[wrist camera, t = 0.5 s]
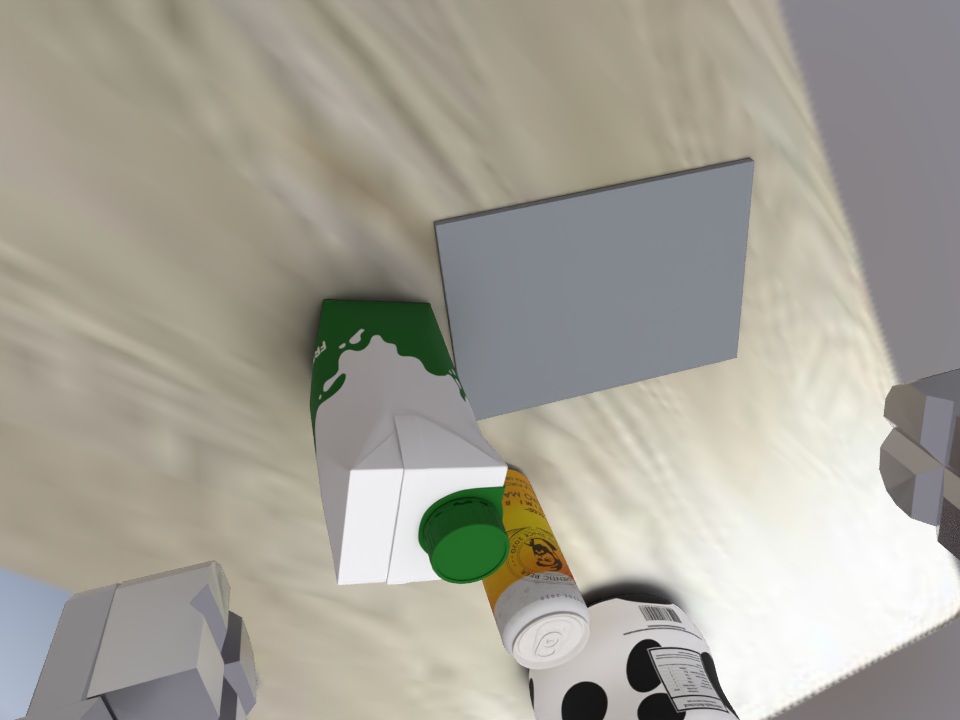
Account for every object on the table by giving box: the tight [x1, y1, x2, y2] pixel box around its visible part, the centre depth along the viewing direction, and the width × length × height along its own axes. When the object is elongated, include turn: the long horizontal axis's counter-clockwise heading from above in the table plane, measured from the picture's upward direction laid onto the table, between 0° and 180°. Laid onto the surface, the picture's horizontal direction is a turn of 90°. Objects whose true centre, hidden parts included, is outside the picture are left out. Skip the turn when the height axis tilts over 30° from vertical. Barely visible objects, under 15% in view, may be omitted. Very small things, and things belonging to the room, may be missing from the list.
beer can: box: [482, 469, 590, 669], centre depth 59 cm, size 6×6×15 cm
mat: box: [434, 158, 754, 421], centre depth 57 cm, size 16×22×1 cm
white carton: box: [310, 300, 510, 585], centre depth 47 cm, size 9×9×20 cm
